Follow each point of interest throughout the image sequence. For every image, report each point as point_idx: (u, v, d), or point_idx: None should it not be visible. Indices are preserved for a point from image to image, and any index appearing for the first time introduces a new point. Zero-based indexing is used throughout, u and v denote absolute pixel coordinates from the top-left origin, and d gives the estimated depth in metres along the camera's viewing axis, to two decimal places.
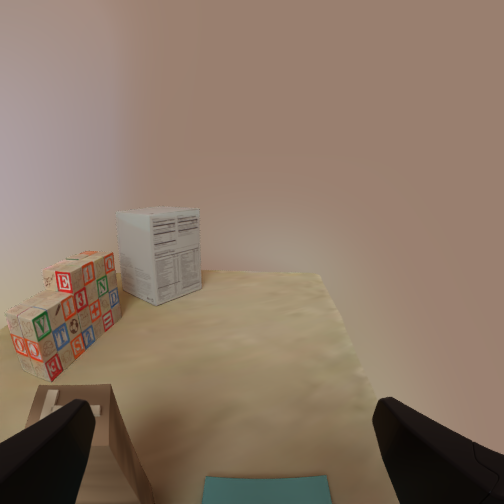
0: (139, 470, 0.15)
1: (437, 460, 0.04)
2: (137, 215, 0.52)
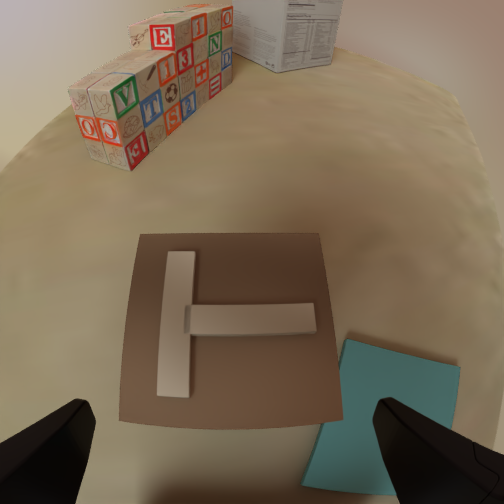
0: None
1: (437, 460, 0.04)
2: None
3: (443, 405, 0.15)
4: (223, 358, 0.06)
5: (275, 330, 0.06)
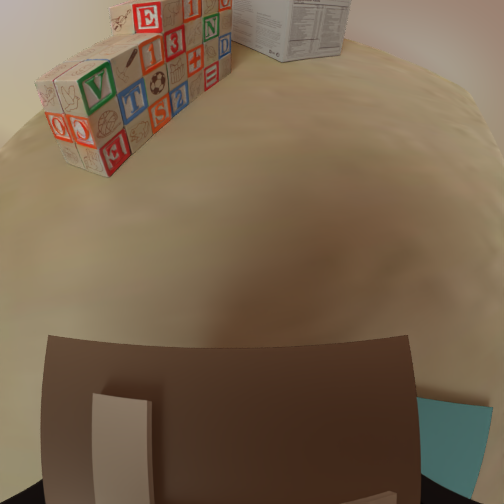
0: None
1: None
2: None
3: (473, 452, 0.11)
4: None
5: None
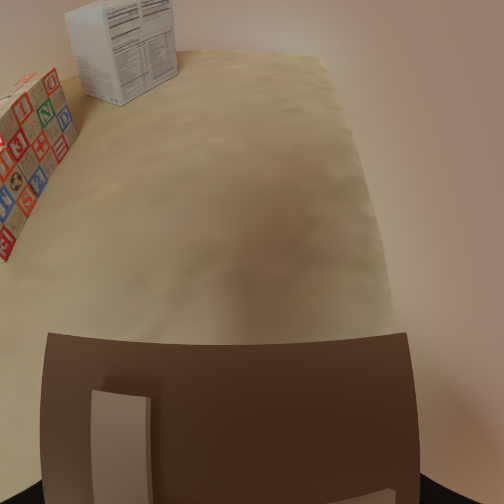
0: None
1: None
2: (87, 11, 0.25)
3: None
4: None
5: None
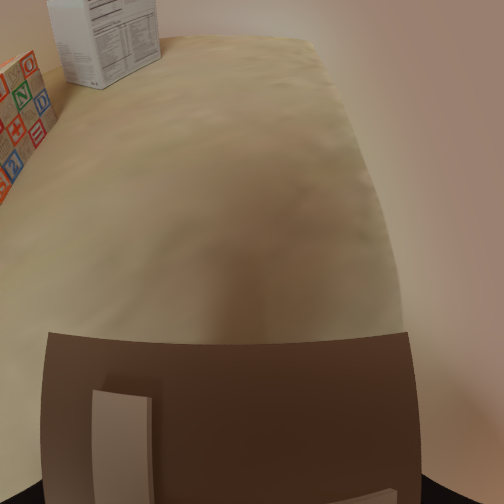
0: None
1: None
2: None
3: None
4: None
5: None
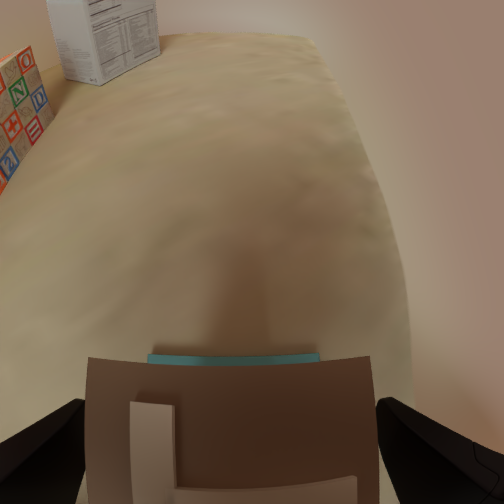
0: None
1: (437, 460, 0.04)
2: None
3: None
4: None
5: None
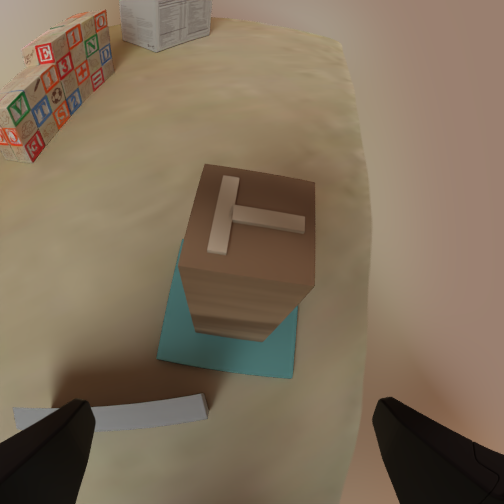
0: None
1: (437, 460, 0.04)
2: None
3: None
4: (248, 236, 0.11)
5: (281, 226, 0.11)
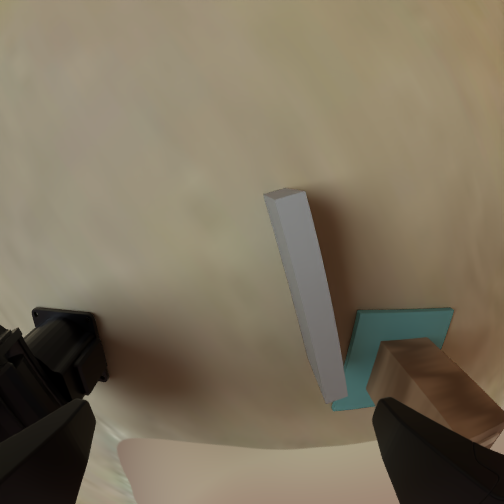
0: None
1: (437, 460, 0.04)
2: None
3: None
4: None
5: None
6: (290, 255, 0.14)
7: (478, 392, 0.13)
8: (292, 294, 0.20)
